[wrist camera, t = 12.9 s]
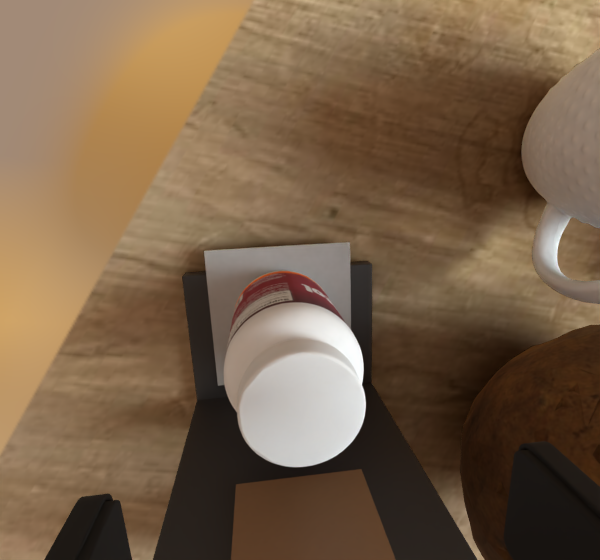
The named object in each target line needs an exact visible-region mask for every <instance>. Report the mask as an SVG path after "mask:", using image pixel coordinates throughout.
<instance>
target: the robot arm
mask: <svg viewBox="0 0 600 560" xmlns="http://www.w3.org/2000/svg"><path fill="white" fill-rule="evenodd" d="M504 542H505V546H506V548H507V550H508V552H509V554H510V556H511V557H512V558H513V560H600V486H598V485H597V484H596V483H595V482H594V481H593V480H592V479H590V478H589V477H588V476H587V475H586V474H585V473H584V472H583V471H581V470H580V469H579V468H578V467H577V466H576V465H575V464H574V463H572V462H571V461H570V460H569V459H568V458H567V457H566V456H565V455H563V454H562V453H561V452H560V451H559V450H558V449H557V448H555V447H554V446H553V445H552V444H550V443H549V442H546V441H541V442H533V443H524V444H521V445H520V446H519V450H518V451H516V452H515V454H514V459H513V466H512V474H511V482H510V490H509V497H508V505H507V513H506V520H505V528H504ZM45 560H132V557H131V553H130V548H129V543H128V538H127V533H126V528H125V523H124V518H123V513H122V508H121V504H120V501H119V500H113V499H112V496H111V495H110V494H102V495H94V496H85V497H81V498H80V499H79V500H78V501H77V502H76V504H75V506H74V508H73V509H72V511H71V513H70V515H69V517H68V518H67V520H66V522H65V524H64V526H63V527H62V529H61V531H60V533H59V535H58V536H57V538H56V540H55V542H54V544H53V545H52V547H51V549H50V551H49V553H48V554H47V556H46V558H45Z"/></svg>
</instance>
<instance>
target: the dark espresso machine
mask: <svg viewBox="0 0 600 560" xmlns="http://www.w3.org/2000/svg"><path fill="white" fill-rule="evenodd" d="M204 258H205V267H206V271H205V272H190V273H185V274H184V275H183V276H182V280H183V288H184V296H185V304H186V313H187V321H188V329H189V337H190V346H191V354H192V362H193V370H194V378H195V387H196V395H197V403H196V406H195V410H194V414H193V417H192V421H191V424H190V428H189V432H188V435H187V439H186V442H185V446H184V450H183V453H182V457H181V460H180V464H179V468H178V471H177V475H176V478H175V482H174V486H173V489H172V493H171V496H170V500H169V504H168V507H167V511H166V514H165V518H164V522H163V525H162V529H161V533H160V536H159V540H158V543H157V547H156V551H155V554H154V558H153V560H477V558H476V557H475V555H474V553H473V552H472V550H471V548H470V547H469V545H468V543H467V542H466V540H465V538H464V537H463V535H462V533H461V532H460V530H459V528H458V527H457V525H456V523H455V522H454V520H453V518H452V517H451V515H450V513H449V512H448V510H447V508H446V506H445V505H444V503H443V501H442V500H441V498H440V496H439V495H438V493H437V491H436V490H435V488H434V486H433V485H432V483H431V481H430V480H429V478H428V476H427V475H426V473H425V471H424V470H423V468H422V466H421V465H420V463H419V461H418V460H417V458H416V456H415V455H414V453H413V451H412V450H411V448H410V446H409V445H408V443H407V441H406V440H405V438H404V436H403V435H402V433H401V431H400V430H399V428H398V426H397V425H396V423H395V421H394V420H393V418H392V416H391V415H390V413H389V411H388V410H387V408H386V406H385V405H384V403H383V401H382V400H381V398H380V396H379V395H378V393H377V391H376V390H375V388H374V386H373V385H372V383H371V382H372V264H371V263H370V262H368V261H360V262H350V242H338V243H321V244H304V245H287V246H270V247H253V248H236V249H219V250H204ZM281 270H287V271H294V272H298V273H301V274H303V275H306V276H307V277H309V278H311V279H312V280H313V281H315V282H316V283H317V284H318V285H319V286H320V287H321V288H322V289H323V290H324V292H325V293H326V295H327V296H328V298H329V299H330V301H331V302H332V304H333V305H334V306H335V308H336V309H337V311H338V312H339V314H340V315H341V316H342V318H343V319H344V321H345V322H346V324H347V325H348V327H349V328H350V329H351V331H352V332H353V334H354V336H355V338H356V339H357V341H358V344H359V346H360V349H361V352H362V356H363V363H364V374H363V382H362V387H363V389H364V393H365V401H366V411H365V417H364V421H363V424H362V426H361V428H360V431H359V432H358V434H357V436H356V437H355V439H354V440H353V441H352V442H351V443H350V445H349V446H348V447H346V448H345V449H344V450H343V451H342V452H341V453H339V454H338V455H337V456H335V457H333V458H331V459H329V460H327V461H325V462H322V463H319V464H316V465H312V466H306V467H287V466H281V465H278V464H274V463H272V462H269V461H267V460H265V459H264V458H262V457H261V456H259V455H258V454H256V453H255V452H254V451H253V450H252V449H251V448H250V447H249V445H248V444H247V443H246V441H245V440H244V438H243V436H242V433H241V431H240V428H239V424H238V418H237V412H236V411H235V409H234V408H233V406H232V405H231V403H230V401H229V398H228V396H227V393H226V389H225V384H224V362H225V355H226V350H227V345H228V340H229V334H230V329H231V324H232V319H233V314H234V309H235V305H236V303H237V300H238V298H239V296H240V295H241V293H242V292H243V290H244V289H245V288H246V287H247V286H248V285H249V284H250V283H251V282H252V281H253V280H255V279H256V278H258V277H260V276H262V275H264V274H266V273H269V272H274V271H281Z"/></svg>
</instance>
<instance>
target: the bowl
mask: <svg viewBox="0 0 600 560" xmlns="http://www.w3.org/2000/svg"><path fill="white" fill-rule="evenodd" d="M541 441H546V442H549V443H550V444H552V445H553V446H554V447H555V448H557V449H558V450H559V451H560V452H561V453H562V454H563V455H565V456H566V457H567V458H568V459H569V460H570V461H571V462H572V463H574V464H575V465H576V466H577V467H578V468H579V469H580V470H581V471H583V472H584V473H585V474H586V475H587V476H588V477H589V478H590V479H592V480H593V481H594V482H595V483H596V484H597V485H598V486H600V325H589V326H586V327H583V328H579V329H576V330H573V331H570V332H568V333H566V334H564V335H562V336H560V337H558V338H556V339H553V340H551V341H548V342H545V343H543V344H540V345H535V346H531V347H530V348H529V349H527V350H526V351H524V352H522V353H520V354H519V355H517V356H516V357H514V358H513V359H511V360H510V361H509V362H507V363H506V364H505V365H504V366H503V367H502V368H500V369H499V370H498V371H497V372H496V373H495V374H494V376H493V377H492V378H491V379H490V380H489V381H488V383H487V384H486V385H485V386H484V388H483V389H482V390H481V391H480V392H479V394H478V395H477V396H476V398H475V400H474V401H473V403H472V405H471V408H470V410H469V413H468V416H467V418H466V420H465V423H464V425H463V427H462V442H461V465H460V473H461V481H462V488H463V495H464V502H465V506H466V511H467V514H468V518H469V521H470V526H471V531H472V535H473V539H474V541H475V543H476V545H477V547H478V549H479V551H480V552H481V554H482V556H483V557H484V559H485V560H513V558H512V557H511V556H510V554H509V552H508V550H507V548H506V546H505V542H504V528H505V520H506V513H507V505H508V497H509V490H510V482H511V474H512V466H513V459H514V454H515V452H516V451H518V450H519V446H520V445H521V444H524V443H533V442H541Z"/></svg>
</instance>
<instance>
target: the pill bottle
mask: <svg viewBox="0 0 600 560" xmlns="http://www.w3.org/2000/svg"><path fill="white" fill-rule="evenodd" d="M363 374H364V363H363V356H362V352H361V349H360V346H359V344H358V341H357V339H356V338H355V336H354V334H353V332H352V331H351V329H350V328H349V327H348V325H347V324H346V322H345V321H344V319H343V318H342V316H341V315H340V314H339V312H338V311H337V309H336V308H335V306H334V305H333V304H332V302H331V301H330V299H329V298H328V296H327V295H326V293H325V292H324V290H323V289H322V288H321V287H320V286H319V285H318V284H317V283H316V282H315V281H313V280H312V279H311V278H309V277H307V276H306V275H303V274H301V273H298V272H294V271H287V270H281V271H274V272H269V273H266V274H264V275H262V276H260V277H258V278H256V279H255V280H253V281H252V282H251V283H250V284H249V285H248V286H247V287H246V288H245V289H244V290H243V292H242V293H241V295H240V296H239V298H238V300H237V303H236V305H235V309H234V314H233V319H232V324H231V329H230V334H229V340H228V345H227V350H226V355H225V362H224V384H225V389H226V393H227V396H228V398H229V401H230V403H231V405H232V406H233V408H234V409H235V411H236V412H237V418H238V424H239V428H240V431H241V433H242V436H243V438H244V440H245V441H246V443H247V444H248V445H249V447H250V448H251V449H252V450H253V451H254V452H255V453H256V454H258V455H259V456H261V457H262V458H264V459H265V460H267V461H269V462H272V463H274V464H278V465H281V466H287V467H306V466H312V465H316V464H319V463H322V462H325V461H327V460H329V459H331V458H333V457H335V456H337V455H338V454H339V453H341V452H342V451H343V450H344V449H345V448H346V447H348V446H349V445H350V443H351V442H352V441H353V440H354V439H355V437H356V436H357V434H358V432H359V431H360V428H361V426H362V424H363V421H364V417H365V411H366V401H365V393H364V389H363V387H362V382H363Z"/></svg>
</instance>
